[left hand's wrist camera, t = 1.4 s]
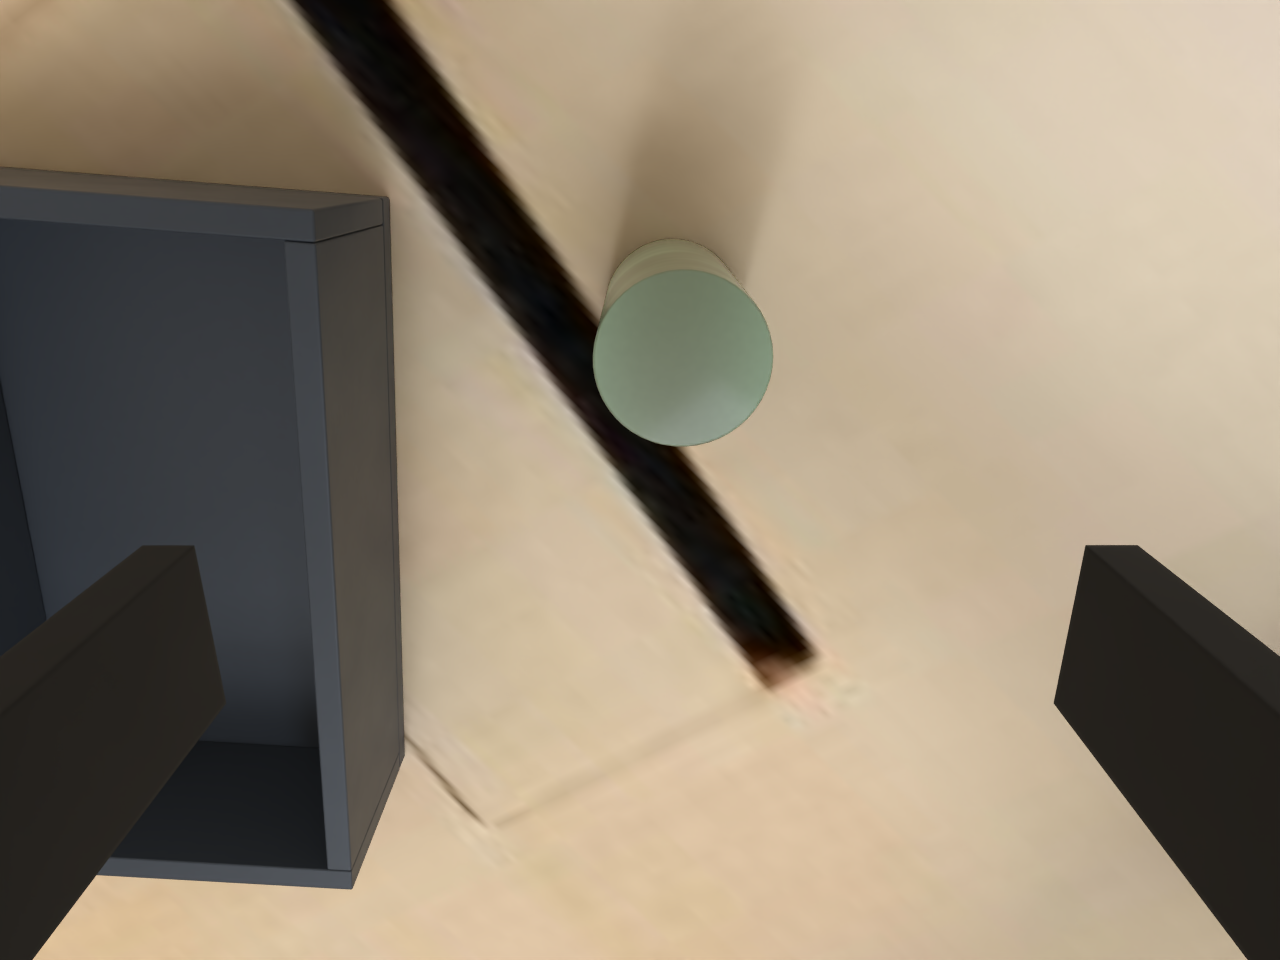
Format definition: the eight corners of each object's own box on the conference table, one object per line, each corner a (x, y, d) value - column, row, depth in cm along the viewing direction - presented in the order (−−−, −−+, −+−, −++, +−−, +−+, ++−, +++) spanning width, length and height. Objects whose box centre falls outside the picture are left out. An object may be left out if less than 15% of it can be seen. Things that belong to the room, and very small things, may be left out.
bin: (389, 196, 27) (313, 209, 21) (404, 755, 35) (352, 890, 28) (-48, 162, 27) (-262, 164, 20) (64, 735, 34) (-66, 866, 28)
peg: (745, 244, 28) (784, 276, 20) (730, 377, 29) (761, 453, 22) (609, 233, 28) (598, 262, 20) (601, 367, 29) (588, 440, 22)
